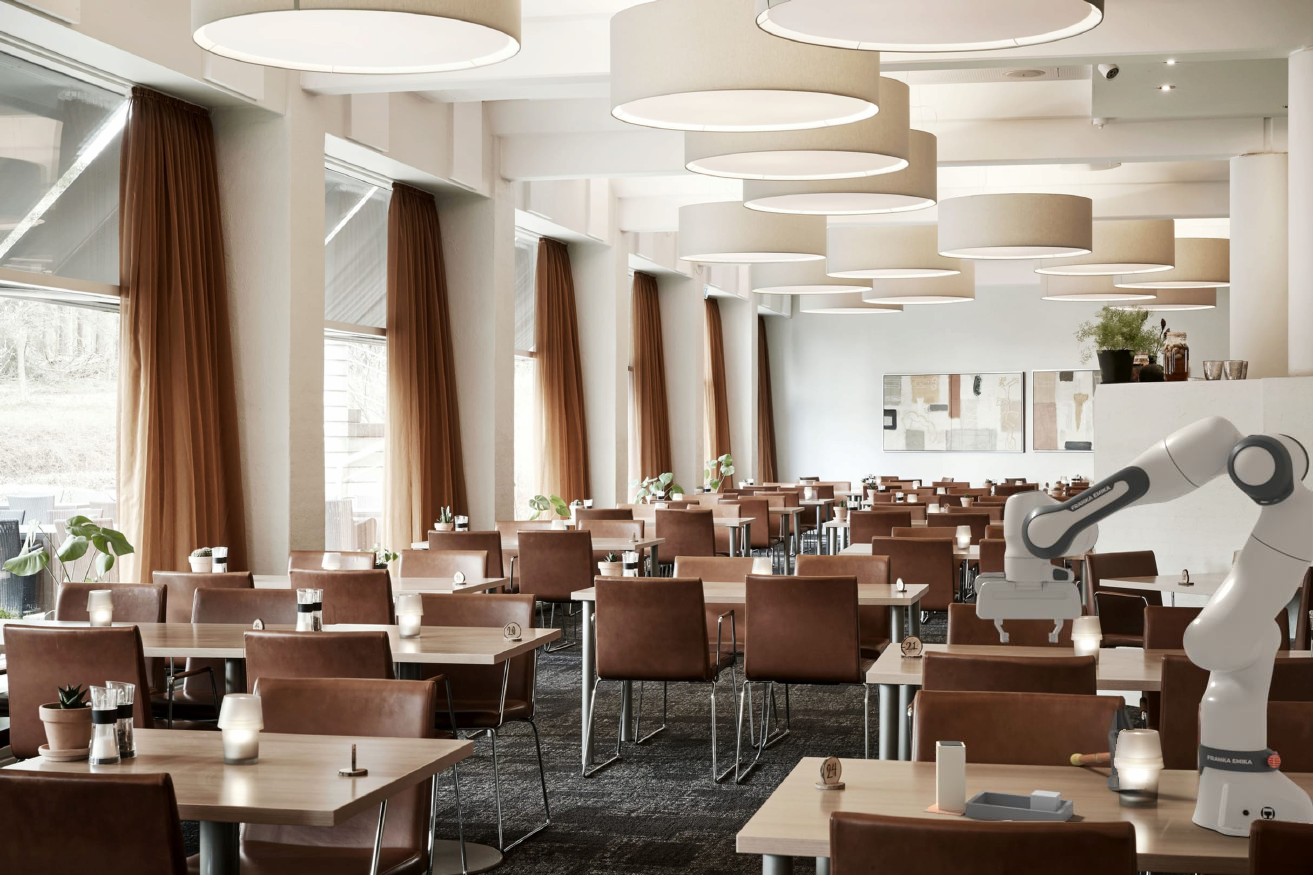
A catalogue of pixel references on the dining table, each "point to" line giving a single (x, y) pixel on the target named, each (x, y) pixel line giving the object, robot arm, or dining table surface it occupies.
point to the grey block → (1045, 801)
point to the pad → (934, 809)
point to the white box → (950, 775)
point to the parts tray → (1013, 808)
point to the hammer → (1118, 724)
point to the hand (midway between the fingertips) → (1029, 642)
